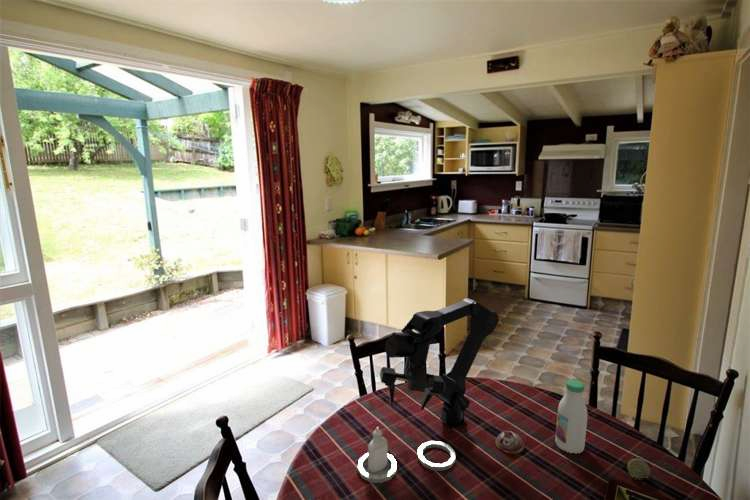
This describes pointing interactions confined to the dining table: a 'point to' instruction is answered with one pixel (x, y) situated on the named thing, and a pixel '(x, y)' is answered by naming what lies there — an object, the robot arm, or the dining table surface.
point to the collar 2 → (433, 465)
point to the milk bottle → (572, 419)
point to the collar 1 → (378, 476)
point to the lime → (638, 468)
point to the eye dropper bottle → (377, 452)
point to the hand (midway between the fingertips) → (406, 407)
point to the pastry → (510, 442)
